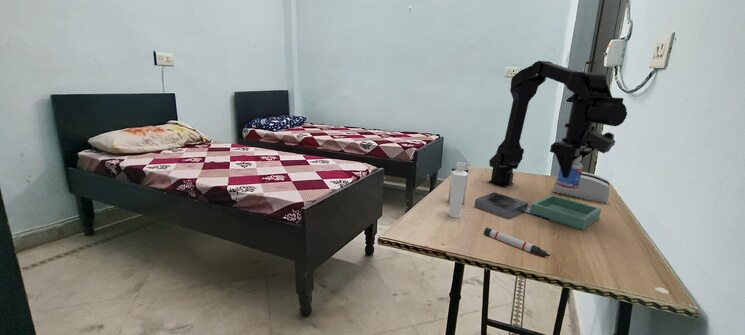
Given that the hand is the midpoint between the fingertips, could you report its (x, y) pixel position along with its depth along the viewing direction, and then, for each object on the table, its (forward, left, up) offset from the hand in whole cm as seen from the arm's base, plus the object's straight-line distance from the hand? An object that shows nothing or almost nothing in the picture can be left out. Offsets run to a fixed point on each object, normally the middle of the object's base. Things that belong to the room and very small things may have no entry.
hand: (569, 175), depth 97 cm
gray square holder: (-13, -10, -12) cm, 21 cm away
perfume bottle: (-18, -26, -12) cm, 34 cm away
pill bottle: (0, 0, -4) cm, 4 cm away
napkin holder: (-3, +24, -13) cm, 27 cm away
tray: (+1, +1, -12) cm, 12 cm away
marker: (+1, -29, -13) cm, 32 cm away
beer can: (-24, -17, -12) cm, 32 cm away
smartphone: (-8, -3, -13) cm, 15 cm away
